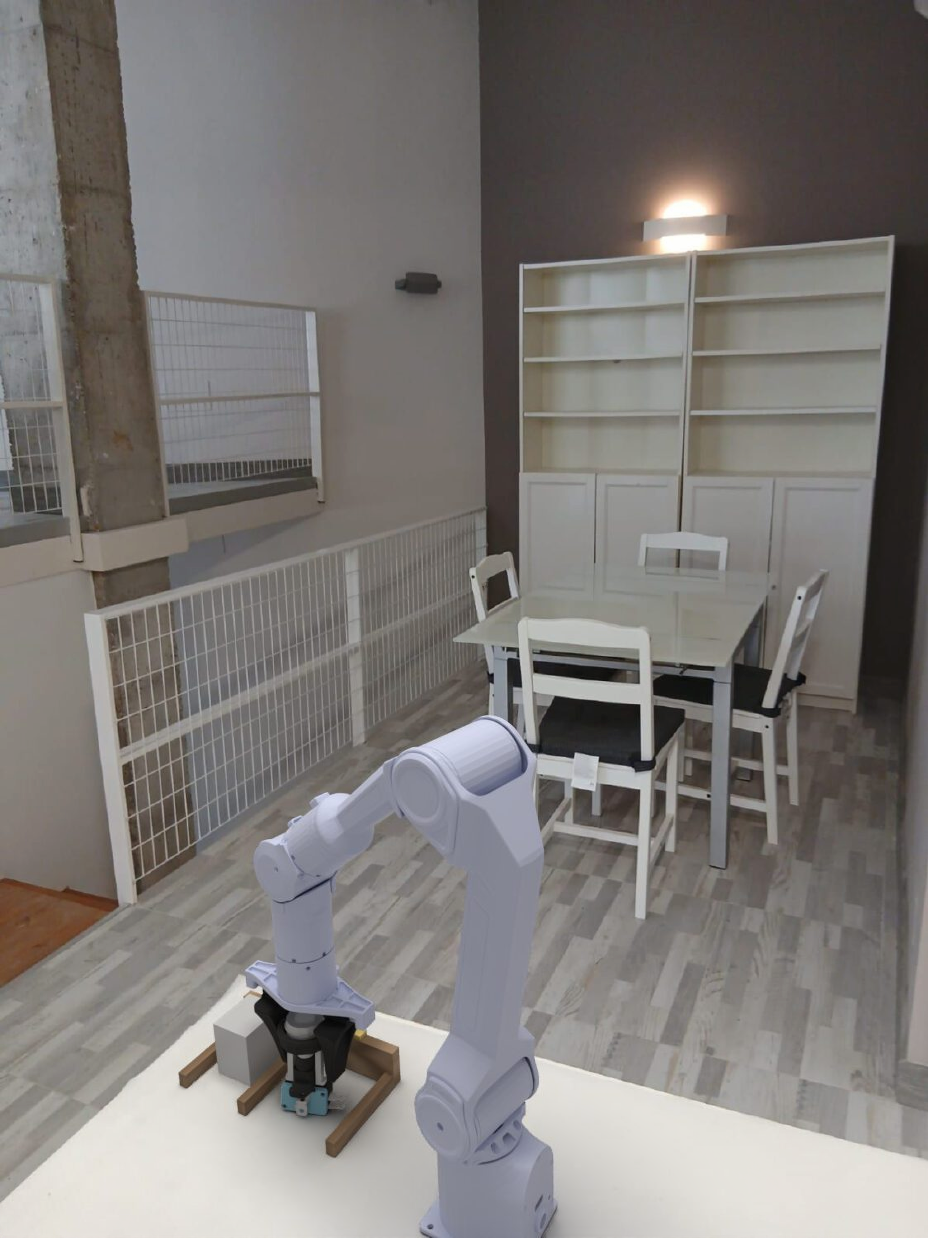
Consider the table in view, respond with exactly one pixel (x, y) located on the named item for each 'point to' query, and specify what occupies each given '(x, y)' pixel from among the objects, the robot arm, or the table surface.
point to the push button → (305, 1067)
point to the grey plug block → (244, 1043)
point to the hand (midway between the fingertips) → (313, 1066)
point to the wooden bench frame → (362, 1058)
